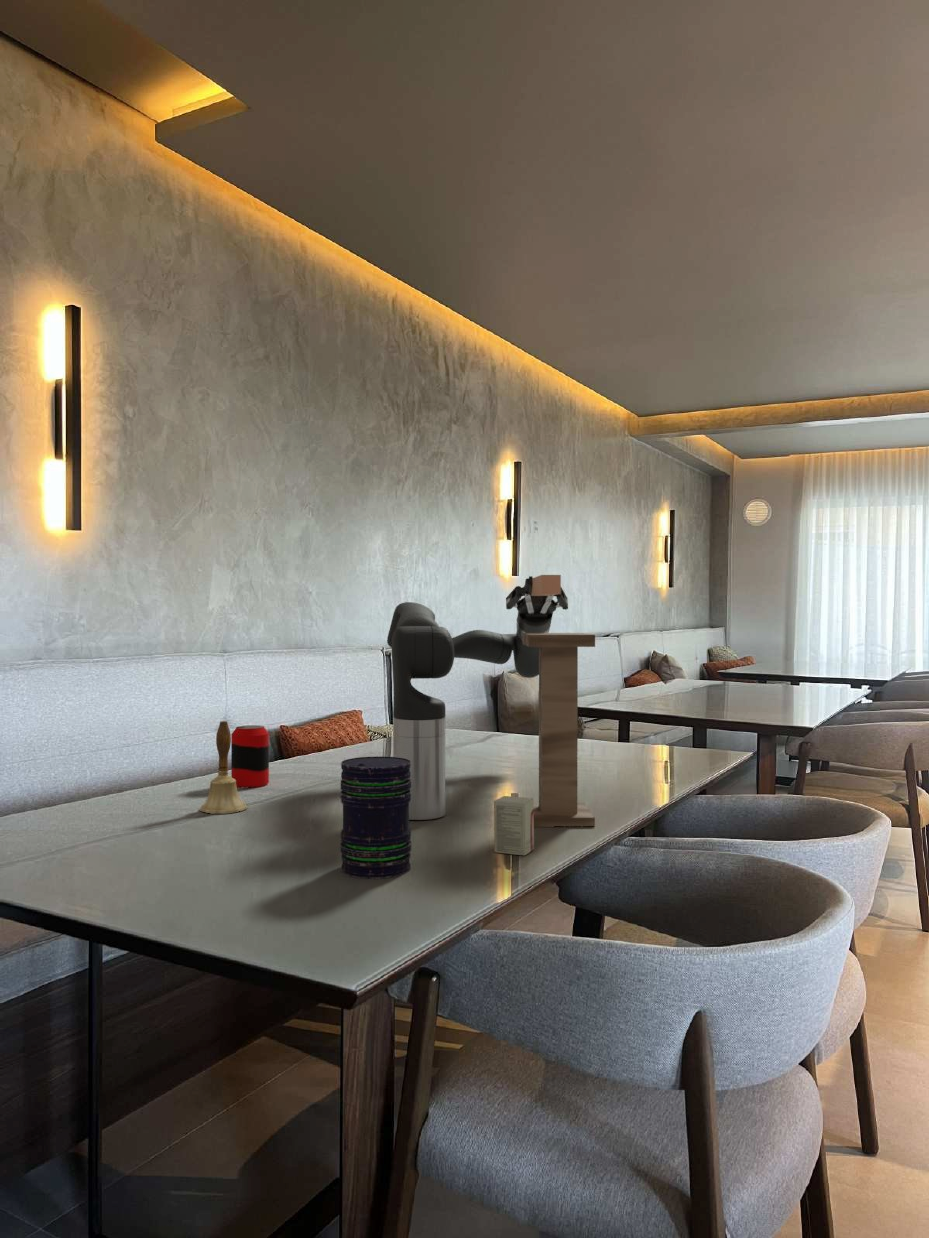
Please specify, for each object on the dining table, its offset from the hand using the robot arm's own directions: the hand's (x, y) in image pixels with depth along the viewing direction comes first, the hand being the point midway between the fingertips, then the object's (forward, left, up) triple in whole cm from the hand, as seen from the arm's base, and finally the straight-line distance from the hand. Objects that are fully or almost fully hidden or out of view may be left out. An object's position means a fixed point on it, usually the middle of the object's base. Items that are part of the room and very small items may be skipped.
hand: (540, 580), depth 193 cm
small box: (-30, -44, -43) cm, 68 cm away
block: (-3, -7, -3) cm, 8 cm away
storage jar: (-52, -44, -43) cm, 80 cm away
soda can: (-53, +27, -43) cm, 74 cm away
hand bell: (-63, +5, -43) cm, 76 cm away
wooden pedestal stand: (-13, -27, -42) cm, 52 cm away
